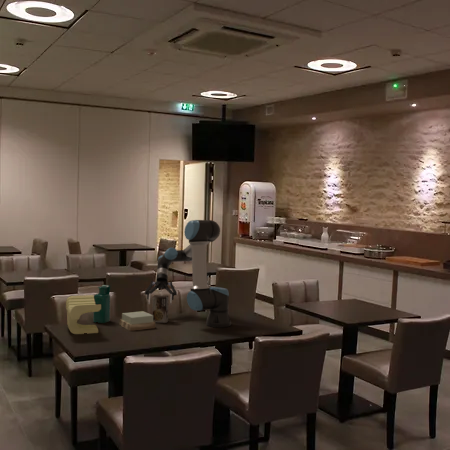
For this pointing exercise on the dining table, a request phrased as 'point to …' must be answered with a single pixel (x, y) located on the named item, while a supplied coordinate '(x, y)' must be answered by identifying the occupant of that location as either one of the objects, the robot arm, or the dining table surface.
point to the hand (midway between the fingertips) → (159, 303)
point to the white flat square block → (137, 317)
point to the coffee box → (160, 308)
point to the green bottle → (102, 304)
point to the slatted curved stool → (80, 313)
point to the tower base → (137, 325)
